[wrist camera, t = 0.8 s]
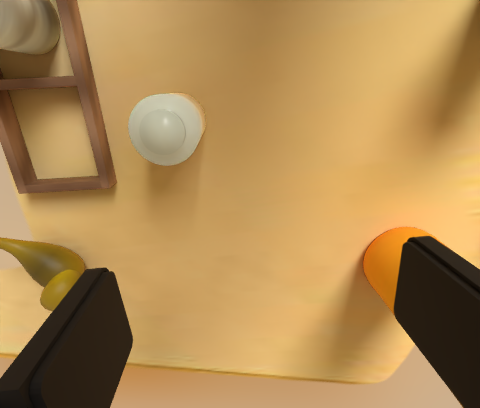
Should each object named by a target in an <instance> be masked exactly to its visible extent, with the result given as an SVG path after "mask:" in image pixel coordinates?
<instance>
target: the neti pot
mask: <svg viewBox="0 0 480 408" xmlns="http://www.w3.org/2000/svg"><path fill="white" fill-rule="evenodd" d="M0 249H3V250H5V251H7V252H9V253H11V254H12V255H13V256H14V257H16V258H17V259H18V260H19V262H20V263H21V264H22V266H23V267H24V268H25V270H26V271H27V272H28V273H29V275H30V276H31V277H32V278H33V279H34V280H35V281H36V282H37V283H39V284H40V285H41V286H43V287H45V288H44V290H43V292H42V294H41V298H40V302H41V305H42V306H43V307H44V308H45V309H47V310H49V311H54V309H55V308H56V307H57V305H58V304H59V303H60V302H61V300H62V299H63V298H64V297H65V295H66V294H67V293H68V291H69V290H70V289H71V288H72V286H73V285H74V284H75V283H76V281H77V280H78V279H79V277H80V276H81V275H82V274H83V272H84V270H85V264H84V262H83V260H82V259H81V258H80V256H79V255H78V254H76V253H74V252H73V251H71V250H69V249H67V248H64V247H62V246H58V245H54V244H49V243H42V242H33V241H23V240H15V239H8V238H0Z"/></svg>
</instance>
